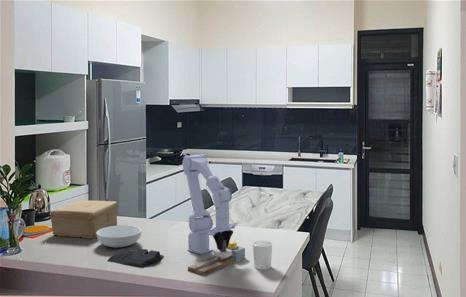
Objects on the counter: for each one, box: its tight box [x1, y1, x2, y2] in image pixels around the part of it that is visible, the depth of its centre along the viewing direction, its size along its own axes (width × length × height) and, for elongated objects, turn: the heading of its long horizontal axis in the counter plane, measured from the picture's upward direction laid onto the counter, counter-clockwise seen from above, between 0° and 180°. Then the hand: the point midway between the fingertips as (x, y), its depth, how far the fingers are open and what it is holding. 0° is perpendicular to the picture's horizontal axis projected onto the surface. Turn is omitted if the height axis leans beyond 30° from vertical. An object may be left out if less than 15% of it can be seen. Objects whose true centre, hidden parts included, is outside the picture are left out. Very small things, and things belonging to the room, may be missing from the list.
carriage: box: [213, 239, 232, 260], centre depth 201 cm, size 6×5×8 cm
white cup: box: [252, 240, 273, 271], centre depth 194 cm, size 8×8×10 cm
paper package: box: [49, 199, 118, 239], centre depth 250 cm, size 27×26×14 cm
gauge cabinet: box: [226, 245, 246, 262], centre depth 206 cm, size 9×6×4 cm, turn 50°
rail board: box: [187, 255, 236, 276], centre depth 197 cm, size 9×20×2 cm, turn 140°
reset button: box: [228, 241, 238, 250], centre depth 206 cm, size 4×4×4 cm
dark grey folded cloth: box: [107, 247, 164, 269], centre depth 205 cm, size 15×22×5 cm
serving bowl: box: [96, 224, 142, 249], centre depth 226 cm, size 21×21×7 cm
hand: (222, 248), depth 201 cm, fingers open, 3 cm apart
